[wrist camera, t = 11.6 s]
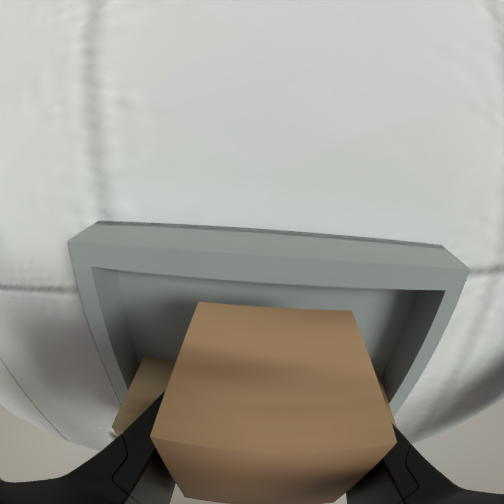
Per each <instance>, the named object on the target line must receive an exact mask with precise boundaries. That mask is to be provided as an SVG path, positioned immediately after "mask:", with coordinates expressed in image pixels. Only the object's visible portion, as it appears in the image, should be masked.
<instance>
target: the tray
mask: <svg viewBox="0 0 504 504" xmlns="http://www.w3.org/2000/svg"><path fill="white" fill-rule="evenodd" d="M68 246H69V251H70V256H71V261H72V266H73V270H74V274H75V278H76V282H77V286H78V290H79V294H80V298H81V301H82V305H83V308H84V311H85V315H86V318H87V321H88V324H89V327H90V330H91V333H92V336H93V339H94V342H95V345H96V347H97V350H98V353H99V355H100V358H101V360H102V363H103V365H104V368H105V370H106V373H107V375H108V377H109V380H110V382H111V384H112V387H113V389H114V391H115V393H116V395H117V398H118V400H119V402H120V404H121V405H122V403H123V400H124V398H125V396H126V394H127V392H128V390H129V387H130V385H131V383H132V381H133V379H134V377H135V374H136V372H137V370H138V368H139V366H140V364H141V362H142V360H143V358H144V356H148V357H153V358H159V359H165V360H171V361H176V360H177V358H178V355H179V352H180V349H181V347H182V344H183V341H184V339H185V336H186V333H187V331H188V328H189V325H190V323H191V320H192V317H193V315H194V312H195V310H196V307H197V304H198V302H209V303H220V304H232V305H245V306H260V307H276V308H294V309H317V310H352V313H353V315H354V318H355V320H356V323H357V325H358V328H359V330H360V333H361V336H362V338H363V341H364V344H365V346H366V349H367V352H368V354H369V357H370V360H371V363H372V365H373V368H374V370H377V371H378V374H379V377H380V380H381V382H382V385H383V388H384V391H385V394H386V397H387V400H388V403H389V406H390V409H391V412H392V415H393V417H394V416H395V414H396V413H397V411H398V410H399V409H400V407H401V406H402V404H403V403H404V401H405V400H406V398H407V397H408V395H409V394H410V392H411V391H412V389H413V387H414V386H415V384H416V383H417V381H418V379H419V378H420V376H421V374H422V373H423V371H424V369H425V367H426V366H427V364H428V362H429V360H430V358H431V357H432V355H433V353H434V351H435V349H436V347H437V345H438V343H439V341H440V339H441V337H442V335H443V333H444V331H445V329H446V327H447V325H448V323H449V320H450V318H451V316H452V314H453V311H454V309H455V307H456V304H457V302H458V299H459V297H460V294H461V292H462V289H463V287H464V284H465V281H466V279H467V276H468V273H469V270H470V269H469V268H468V267H467V266H466V265H465V264H464V263H462V262H461V261H460V260H459V259H458V258H456V257H455V256H454V255H453V254H452V253H450V252H449V251H448V250H447V249H446V248H444V247H443V246H442V245H435V244H426V243H416V242H407V241H397V240H387V239H376V238H365V237H354V236H343V235H331V234H319V233H307V232H294V231H280V230H266V229H251V228H236V227H219V226H202V225H183V224H163V223H140V222H113V221H98V222H96V223H95V224H93V225H92V226H90V227H88V228H87V229H85V230H84V231H82V232H81V233H79V234H78V235H76V236H75V237H73V238H72V239H70V240H69V241H68Z"/></svg>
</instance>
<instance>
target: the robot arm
mask: <svg viewBox="0 0 504 504" xmlns="http://www.w3.org/2000/svg"><path fill="white" fill-rule="evenodd" d="M165 391H166V390H165ZM165 391H164V392H163V393H162V394H161V395H160V396H159V397H158V398H157V399H156V400H155V401H154V402H153V403H152V404H151V405H150V406H149V407H148V408H147V409H146V410H145V411H144V412H143V413H142V414H141V415H140V416H139V417H138V418H137V419H136V420H135V421H134V422H133V423H132V424H131V425H130V426H129V427H127V428H126V429H125V430H124V431H123V432H122V434H120V435H119V436H118V437H117V438H116V439H115V440H114V441H113V442H111V443H110V444H109V445H108V446H107V447H106V448H105V449H103V450H102V451H101V452H99V453H98V454H97V455H95V456H94V457H92V458H91V459H90V460H88V461H87V462H85V463H84V464H82V465H81V466H79V467H78V468H77V469H75V470H73V471H72V472H70V473H69V474H67V475H64V476H62V477H59V478H55V479H48V480H39V481H29V482H16V483H13V482H5V481H3V480H2V479H1V478H0V504H170V501H171V497H172V494H173V490H174V487H175V484H176V482H175V480H174V479H173V477H172V476H171V474H170V472H169V470H168V469H167V467H166V465H165V464H164V462H163V460H162V458H161V456H160V455H159V453H158V451H157V449H156V447H155V445H154V443H153V441H152V439H151V437H150V435H151V432H152V429H153V426H154V423H155V420H156V417H157V414H158V411H159V408H160V405H161V403H162V400H163V397H164V394H165ZM391 423H392V422H391ZM392 426H393V429H394V433H395V436H396V440H397V443H396V444H395V445H394V446H393V447H392V449H391V450H390V451H389V452H388V453H387V454H386V455H385V456H384V457H383V458H382V459H381V460H380V461H379V462H378V463H377V464H376V465H375V466H374V467H373V468H372V469H371V470H370V471H369V472H368V473H367V474H366V475H365V476H364V477H363V478H362V479H360V480H359V481H358V482H357V483H356V484H355V485H354V486H353V487H351V488H350V489H349V490H348V491H347V492H346V497H347V504H504V494H494V493H486V492H478V491H472V490H466V489H463V488H461V487H458V486H457V485H455V484H454V483H452V482H451V481H450V480H449V479H447V478H446V477H445V476H444V475H443V474H442V473H440V472H439V471H438V470H437V469H435V467H433V466H432V465H431V464H430V463H429V462H428V461H427V460H426V459H425V458H424V457H423V456H422V455H421V454H420V453H419V452H418V451H417V450H416V449H415V448H414V447H413V445H412V444H410V442H409V441H408V440H407V439H406V438H405V437H404V436H403V434H402V433H401V432H400V431H399V430H398V429H397V428H396V427H395V425H394V424H393V423H392Z"/></svg>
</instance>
